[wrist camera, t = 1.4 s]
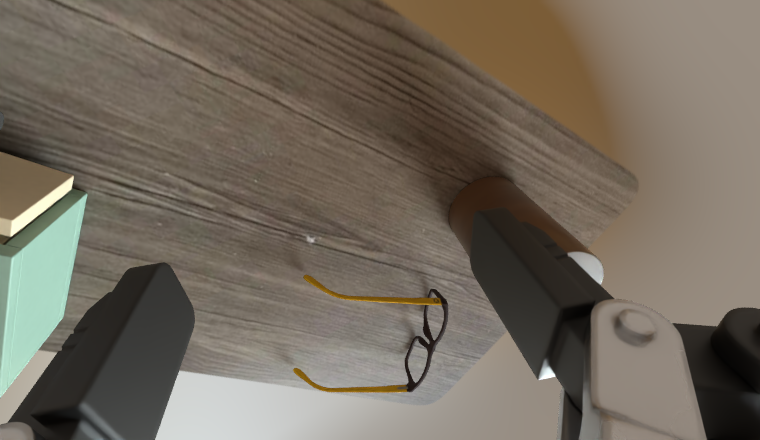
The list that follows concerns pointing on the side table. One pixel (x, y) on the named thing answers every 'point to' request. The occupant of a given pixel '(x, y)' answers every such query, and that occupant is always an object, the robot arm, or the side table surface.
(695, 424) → the robot arm
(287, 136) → the side table surface
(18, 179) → the drawer
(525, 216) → the stand
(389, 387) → the eyeglasses
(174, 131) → the side table surface
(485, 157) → the side table surface
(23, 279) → the cabinet
